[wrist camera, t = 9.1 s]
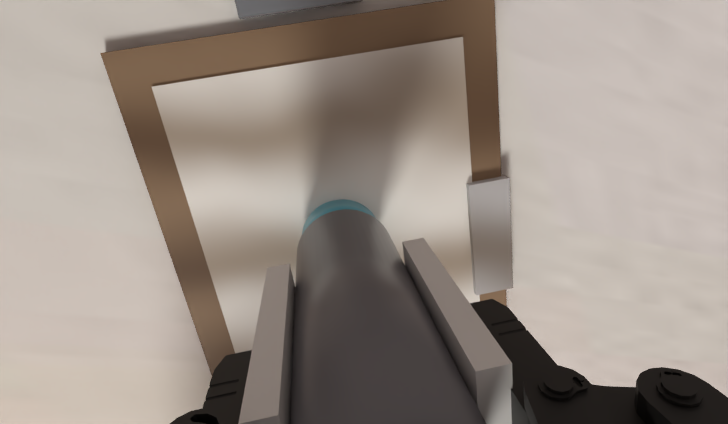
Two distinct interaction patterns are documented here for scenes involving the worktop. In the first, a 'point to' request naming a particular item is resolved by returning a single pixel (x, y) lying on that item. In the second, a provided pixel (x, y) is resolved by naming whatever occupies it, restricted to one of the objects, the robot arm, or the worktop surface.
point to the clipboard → (319, 148)
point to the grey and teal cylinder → (366, 331)
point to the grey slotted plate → (280, 6)
